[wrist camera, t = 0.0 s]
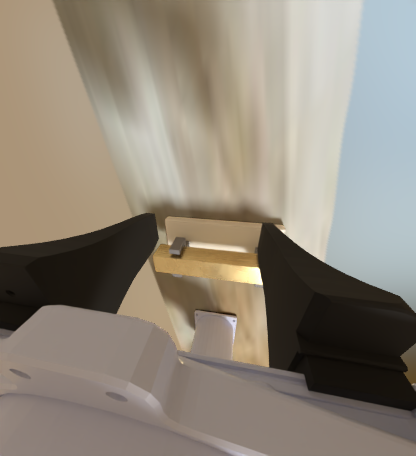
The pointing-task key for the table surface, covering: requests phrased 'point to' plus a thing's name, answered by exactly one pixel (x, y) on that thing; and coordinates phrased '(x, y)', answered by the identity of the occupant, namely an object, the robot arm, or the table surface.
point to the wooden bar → (209, 264)
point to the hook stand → (213, 235)
